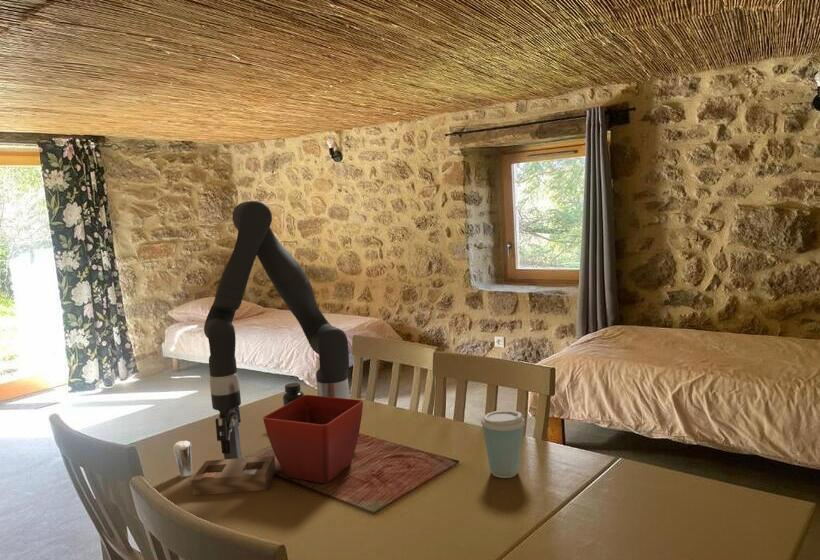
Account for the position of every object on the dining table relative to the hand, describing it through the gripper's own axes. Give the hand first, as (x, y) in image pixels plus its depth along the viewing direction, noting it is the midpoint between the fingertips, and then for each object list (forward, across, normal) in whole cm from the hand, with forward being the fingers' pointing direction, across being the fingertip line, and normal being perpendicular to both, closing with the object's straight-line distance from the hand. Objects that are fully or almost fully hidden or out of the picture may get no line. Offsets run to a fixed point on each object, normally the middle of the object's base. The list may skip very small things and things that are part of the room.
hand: (231, 446), depth 167 cm
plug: (+5, 0, 0) cm, 5 cm away
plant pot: (+5, -9, -25) cm, 27 cm away
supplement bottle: (+4, +30, -12) cm, 33 cm away
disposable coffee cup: (+4, -18, -72) cm, 75 cm away
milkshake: (+5, -6, +11) cm, 13 cm away
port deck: (+5, -12, -4) cm, 14 cm away
